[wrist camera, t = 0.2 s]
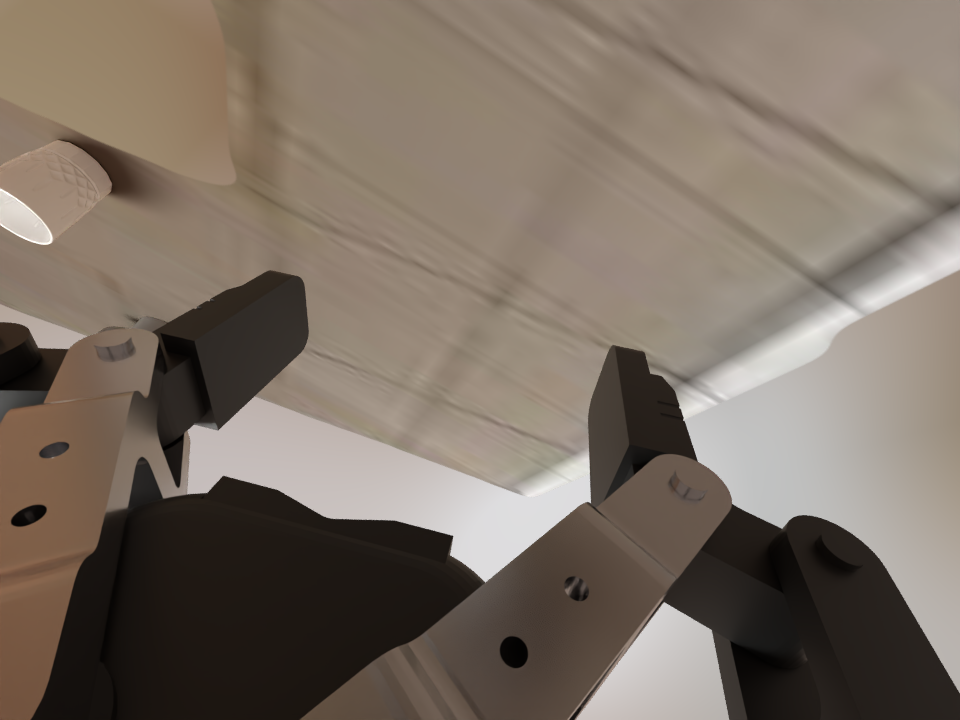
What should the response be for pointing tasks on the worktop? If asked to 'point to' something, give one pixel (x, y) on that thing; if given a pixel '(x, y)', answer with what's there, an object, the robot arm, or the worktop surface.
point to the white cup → (49, 191)
